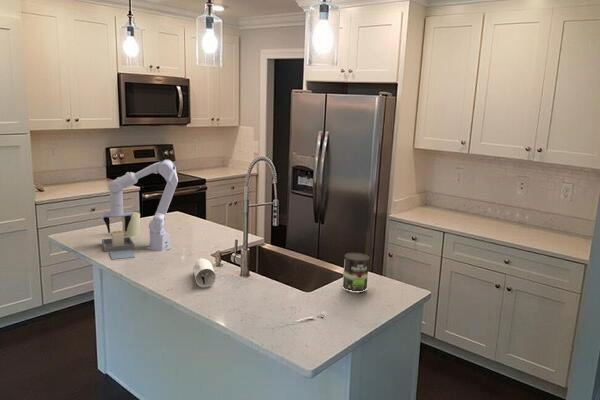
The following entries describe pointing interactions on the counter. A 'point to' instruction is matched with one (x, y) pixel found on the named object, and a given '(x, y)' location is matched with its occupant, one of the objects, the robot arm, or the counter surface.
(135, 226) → the can
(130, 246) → the gray square tray
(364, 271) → the coffee can
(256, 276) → the counter surface
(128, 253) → the mat
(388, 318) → the counter surface
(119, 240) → the block
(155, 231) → the robot arm
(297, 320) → the fork
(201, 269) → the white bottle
